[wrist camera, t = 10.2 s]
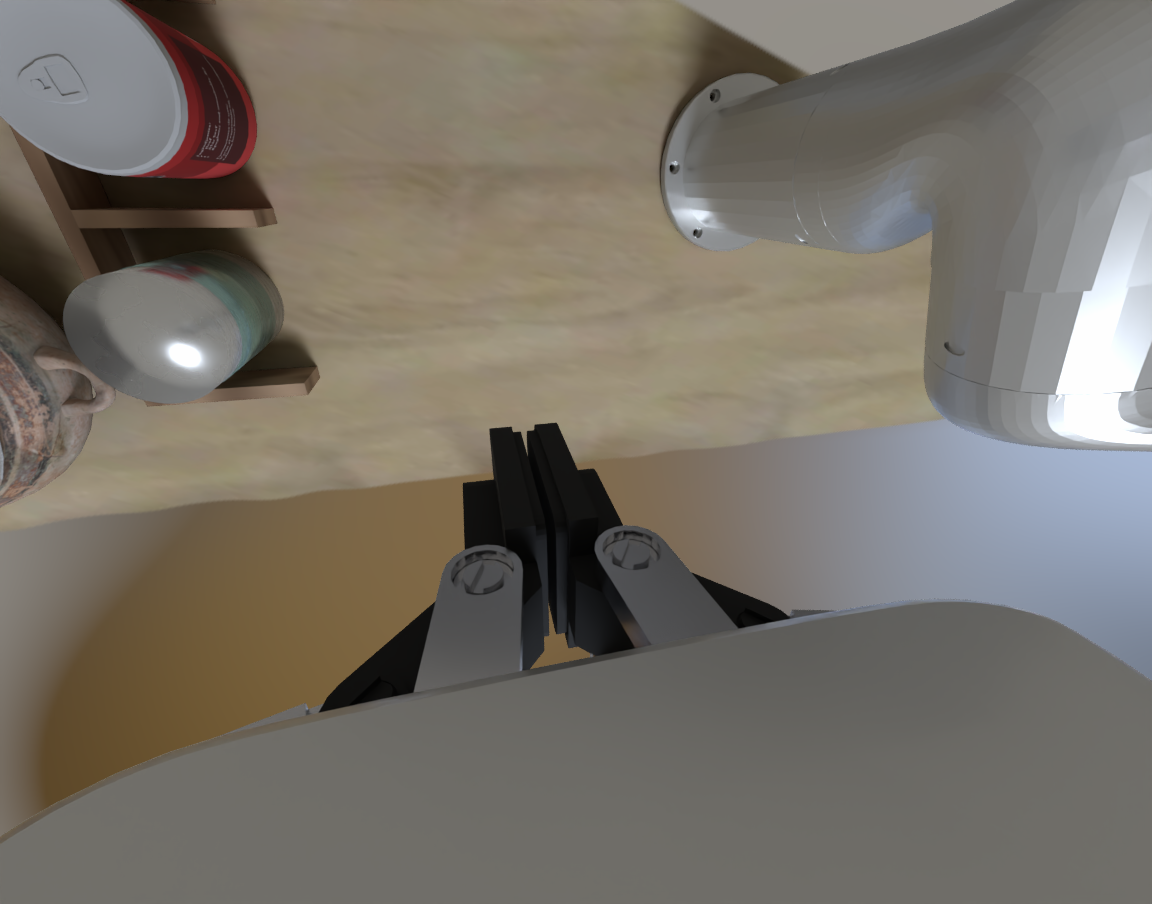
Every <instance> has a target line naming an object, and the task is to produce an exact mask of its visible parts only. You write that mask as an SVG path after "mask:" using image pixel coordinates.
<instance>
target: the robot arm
mask: <svg viewBox="0 0 1152 904" xmlns="http://www.w3.org/2000/svg"><path fill="white" fill-rule="evenodd" d="M710 94H711V95H712V100H710ZM670 165H672V166H673V169H672V171H671V172H670V169H669V167H670ZM661 190H662V195H663V201H664V205H665V208H666V210H667V213H668V216H669V218H670V220H671V221H672V223H673V224H674V226H675V228H676V229H677V230H678V231H679V232H680V234H681V235H682V236H683V237H684V238H685V239H687V240H688V241H690V242H691V243H693V244H694V245H696V246H699V247H702V248H705V249H708V250H714V251H731V250H735V249H739V248H743V247H745V246H747V245H749V244H751V243H753V242H755V241H756V240H758V239H759V238H761V239H767V240H773V241H779V242H785V243H791V244H797V245H803V246H809V247H815V248H821V249H827V250H834V251H840V252H846V253H854V254H870V253H878V252H883V251H887V250H890V249H894V248H897V247H900V246H902V245H905V244H907V243H909V242H911V241H913V240H915V239H917V238H919V237H921V236H923V235H925V234H926V233H928V232H930V231H932V251H931V267H932V270H931V281H930V293H929V304H928V315H927V326H926V337H925V353H924V382H925V388H926V392H927V395H928V397H929V399H930V401H931V403H932V405H933V406H934V408H935V409H936V410H937V411H938V412H939V413H940V414H941V415H942V416H943V417H944V418H945V419H947V420H948V421H950V422H951V423H953V424H955V425H956V426H958V427H960V428H962V429H964V430H966V431H969V432H972V433H974V434H977V435H980V436H983V437H987V438H991V439H995V440H999V441H1003V442H1009V443H1015V444H1021V445H1028V446H1038V447H1048V448H1058V449H1076V450H1077V449H1078V450H1105V451H1108V450H1109V451H1147V452H1152V0H1016V1H1013V2H1011V3H1009V4H1007V5H1005V6H1003V7H1000V8H998V9H996V10H994V11H991V12H989V13H987V14H985V15H983V16H980V17H978V18H976V19H974V20H972V21H969V22H967V23H964V24H962V25H959V26H956V27H954V28H951V29H949V30H946V31H943V32H940V33H938V34H935V35H932V36H929V37H927V38H924V39H921V40H918V41H916V42H913V43H910V44H907V45H904V46H901V47H898V48H894V49H891V50H888V51H885V52H882V53H879V54H876V55H873V56H870V57H867V58H864V59H861V60H857V61H854V62H851V63H848V64H845V65H841V66H838V67H836V68H832V69H829V70H825V71H823V72H819V73H816V74H813V75H810V76H806V77H803V78H800V79H797V80H794V81H791V82H787V83H784V84H781V85H779V84H778V83H777V82H776V81H774V80H772V79H770V78H768V77H766V76H764V75H759V74H754V73H739V74H734V75H731V76H727V77H724V78H722V79H719V80H717V81H715V82H713V83H711V84H709V85H708V86H707V87H705V88H704V89H703V90H701V91H700V92H698V93H697V94H696V95H695V96H694V97H693V98H692V99H691V101H690V102H689V103H688V104H687V105H686V106H685V107H684V109H683V110H682V112H681V113H680V115H679V116H678V118H677V119H676V121H675V123H674V125H673V127H672V130H671V132H670V134H669V136H668V139H667V142H666V146H665V150H664V153H663V159H662V167H661ZM694 229H695V231H696V232H695V234H694V235H693V231H694ZM490 442H491V453H492V464H493V475H494V480H485V481H476V482H467V483H463V505H464V537H465V550H463V551H462V552H460V553H459V554H457V555H455V556H454V557H453V558H452V559H451V560H450V561H449V562H448V563H447V564H446V566H445V569H444V571H443V573H442V577H441V581H440V585H439V589H438V594H437V598H436V601H435V602H434V603H433V604H432V605H431V606H430V607H429V608H427V609H426V610H425V611H424V612H423V613H421V614H420V615H419V616H418V617H417V618H416V619H415V620H413V621H412V622H411V623H410V624H409V625H408V626H406V627H405V628H404V629H403V630H402V631H401V632H399V633H398V634H397V635H396V636H395V637H394V638H393V639H391V640H390V641H389V642H388V643H387V644H386V645H384V646H383V647H382V648H381V649H380V650H379V651H377V652H376V653H375V654H374V655H373V656H372V657H371V658H369V659H368V660H367V661H366V662H365V663H364V664H362V665H361V666H360V667H359V668H358V669H357V670H355V671H354V672H353V673H352V674H351V675H350V676H349V677H347V678H346V679H345V680H344V681H343V682H342V683H340V684H339V685H338V686H337V687H336V689H335V690H334V691H333V692H332V693H331V694H330V695H329V696H328V697H327V699H326V701H325V703H324V704H321V705H319V706H316V707H314V708H311V709H308V707H307V705H306V703H304V704H302V705H299V706H296V707H294V708H291V709H289V710H286V711H283V712H281V713H278V714H276V715H273V716H270V717H268V718H265V719H263V720H260V721H258V722H255V723H252V724H250V725H247V726H245V727H242V728H239V729H236V730H234V731H231V732H229V733H226V734H223V735H221V736H218V737H216V738H213V739H210V740H207V741H203V742H200V743H197V744H194V745H191V746H187V747H184V748H181V749H178V750H175V751H172V752H169V753H166V754H164V755H161V756H159V757H156V758H154V759H151V760H149V761H146V762H144V763H141V764H139V765H136V766H134V767H131V768H129V769H126V770H124V771H121V772H119V773H116V774H114V775H112V776H110V777H108V778H106V779H104V780H102V781H100V782H98V783H96V784H94V785H92V786H90V787H88V788H86V789H84V790H82V791H79V792H77V793H75V794H73V795H71V796H69V797H67V798H65V799H63V800H61V801H59V802H57V803H55V804H53V805H52V806H50V807H48V808H46V809H45V810H43V811H41V812H39V813H38V814H36V815H34V816H33V817H31V818H29V819H27V820H25V821H24V822H22V823H20V824H19V825H17V826H16V827H14V828H13V829H11V830H10V831H8V832H7V833H5V834H3V835H2V836H0V904H1152V681H1151V680H1150V679H1149V678H1147V677H1145V676H1144V675H1143V674H1141V673H1140V672H1138V671H1137V670H1135V669H1134V668H1132V667H1131V666H1129V665H1127V664H1126V663H1125V662H1123V661H1122V660H1120V659H1119V658H1117V657H1116V656H1114V655H1113V654H1111V653H1110V652H1108V651H1106V650H1105V649H1103V648H1101V647H1100V646H1098V645H1096V644H1095V643H1093V642H1092V641H1090V640H1088V639H1087V638H1085V637H1084V636H1082V635H1080V634H1079V633H1077V632H1076V631H1074V630H1072V629H1070V628H1068V627H1066V626H1064V625H1063V624H1061V623H1059V622H1057V621H1055V620H1052V619H1050V618H1048V617H1044V616H1042V615H1040V614H1037V613H1033V612H1030V611H1026V610H1022V609H1019V608H1014V607H1010V606H1005V605H999V604H992V603H985V602H977V601H971V600H955V599H926V600H909V601H899V602H891V603H884V604H877V605H869V606H862V607H856V608H850V609H844V610H838V611H829V610H792V611H791V614H790V616H787V615H786V614H785V613H784V612H782V611H781V610H779V609H777V608H775V607H774V606H772V605H770V604H768V603H765V602H763V601H760V600H758V599H755V598H753V597H750V596H748V595H746V594H743V593H740V592H738V591H736V590H733V589H731V588H728V587H726V586H723V585H721V584H718V583H716V582H713V581H711V580H708V579H706V578H704V577H701V576H699V575H696V574H694V573H691V572H690V571H689V569H688V568H687V567H686V566H685V565H684V563H683V562H682V561H681V560H680V559H679V558H678V556H677V555H676V554H675V553H674V552H673V551H672V549H671V548H670V547H669V546H668V544H667V543H666V542H665V541H664V540H663V539H662V538H661V537H660V536H659V535H657V534H656V533H654V532H652V531H650V530H648V529H645V528H642V527H638V526H627V525H625V526H623V524H622V522H621V520H620V518H619V516H618V514H617V512H616V510H615V508H614V506H613V504H612V502H611V500H610V498H609V496H608V494H607V492H606V491H605V488H604V487H603V484H602V482H601V481H600V478H599V476H598V474H597V472H596V471H595V470H594V469H584V470H577V468H576V465H575V463H574V461H573V458H572V456H571V454H570V451H569V449H568V447H567V445H566V442H565V440H564V438H563V436H562V433H561V431H560V429H559V426H558V424H557V423H548V424H537V425H535V427H534V430H533V431H527V451H528V456H527V453H526V449H525V445H524V442H523V438H522V435H521V432H513V431H512V427H503V428H492V429H490ZM548 602H549V606H550V611H551V615H552V619H553V624H554V628H555V632H556V634H561V633H565V636H566V640H567V644H568V648H573V647H580V648H582V649H584V650H586V651H587V652H589V653H590V658H585V659H579V660H574V661H569V662H564V663H559V664H554V665H549V666H544V667H539V668H534V669H530V668H531V667H532V665H533V664H534V663H535V662H536V660H537V659H538V658H539V657H540V655H541V654H542V653H543V652H544V636H549V610H548Z"/></svg>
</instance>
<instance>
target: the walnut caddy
mask: <svg viewBox="0 0 1152 904" xmlns="http://www.w3.org/2000/svg"><path fill="white" fill-rule="evenodd" d="M167 1H179V2H191V3H204V4H216V2H215V0H167ZM9 125H10V124H9ZM10 127H11V130H12V132H13V134H14V136H15V138H16V140H17V142H18V144H19V146H20V148H21V150H22V152H23V154H24V156H25V158H26V160H27V162H28V164H29V166H30V168H31V170H32V172H33V174H34V176H35V179H36V181H37V183H38V185H39V187H40V189H41V191H42V193H43V195H44V197H45V199H46V201H47V203H48V205H49V207H50V209H51V211H52V213H53V215H54V217H55V219H56V221H57V223H58V225H59V228H60V230H61V232H62V234H63V236H64V238H65V240H66V242H67V244H68V246H69V248H70V250H71V252H72V254H73V256H74V258H75V260H76V262H77V264H78V266H79V268H80V270H81V272H82V274H83V276H84V279H85V281H86V280H88V279H90V278H93V277H95V276H98V275H102V274H106V273H110V272H114V271H117V270H120V269H122V268H126V267H130V266H134V265H136V263H135V261H134V259H133V256H132V254H131V252H130V249H129V247H128V245H127V242H126V240H125V238H124V235H123V233H122V231H121V228H244V227H262V226H267V225H272V224H277V221H276V217H275V214H274V210H273V208H111V205H110V203H109V201H108V198H107V196H106V194H105V191H104V189H103V187H102V184H101V182H100V180H99V177H98V175H97V173H96V172H93V171H90V170H86V169H82V168H78V167H76V166H73V165H71V164H68V163H66V162H63V161H61V160H59V159H57V158H55V157H53V156H52V155H50V154H48V153H46V152H45V151H43V150H41V149H39V148H38V147H36V146H35V145H34V144H32V143H31V142H30V141H28V140H27V139H26V138H24V137H23V136H22V135H20V134H19V133H18V132H17V131H16V130H15V129H14V128H13V127H12V126H11V125H10ZM319 378H320V375H319V372H318V368H317V367H300V368H283V369H267V370H250V371H237V372H235V373H234V374H233V375H232V376H231V377H229V378H228V379H227V380H226V381H224V382H222V383H221V384H220V385H219V386H217V387H216V388H215V389H214V390H213V391H211V392H210V393H209V394H207V395H205V396H204V397H202V398H199V399H196V400H194V401H190V402H185V403H177V404H190V403H204V402H218V401H232V400H246V399H260V398H274V397H288V396H302V395H308V394H309V393H310V391H311V390H312V388H313V387H314V386H315V384H316V383H317V381H318V380H319ZM144 401H145V400H144ZM145 403H146V405H147V406H162V405H176V404H165V403H156V402H150V401H145Z"/></svg>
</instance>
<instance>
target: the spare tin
mask: <svg viewBox="0 0 1152 904" xmlns="http://www.w3.org/2000/svg"><path fill="white" fill-rule="evenodd" d="M283 321H284V306H283V302H282V299H281V296H280V294H279V292H278V290H277V288H276V286H275V285H274V283H273V282H272V280H271V279H270V278H269V277H268V276H267V275H266V274H265V273H264V272H263V271H262V270H261V269H260V268H259V267H257V266H256V265H255V264H253V263H252V262H250V261H249V260H247V259H245V258H243V257H241V256H239V255H236V254H234V253H230V252H227V251H222V250H212V249H208V250H200V251H195V252H191V253H184V254H180V255H175V256H171V257H167V258H163V259H159V260H155V261H151V262H147V263H143V264H139V265H134V266H130V267H126V268H122V269H120V270H117V271H114V272H110V273H106V274H102V275H98V276H95V277H93V278H90V279H88V280H86V281H84V282H83V283H81V284H80V285H78V286H77V287H76V288H75V289H74V290H73V291H72V293H71V294H70V295H69V297H68V299H67V301H66V303H65V307H64V311H63V325H64V330H65V334H66V337H67V339H68V342H69V344H70V346H71V348H72V349H73V351H74V352H75V354H76V356H77V357H78V358H79V359H80V361H81V362H82V363H83V364H84V365H85V366H86V367H87V368H88V369H89V370H90V371H91V372H92V373H93V374H94V375H96V376H97V377H98V378H99V379H101V380H102V381H103V382H105V383H106V384H108V385H110V386H111V387H113V388H115V389H117V390H118V391H121V392H123V393H125V394H127V395H130V396H132V397H135V398H138V399H142V400H145V401H150V402H156V403H165V404H177V403H185V402H190V401H194V400H196V399H199V398H202V397H204V396H205V395H207V394H209V393H210V392H211V391H213V390H214V389H215V388H216V387H217V386H219V385H220V384H221V383H222V382H224V381H226V380H227V379H228V378H229V377H231V376H232V375H233V374H234V373H235V372H237V371H238V370H239V369H240V368H241V367H242V366H244V365H245V364H246V363H247V362H248V361H250V360H251V359H252V358H253V357H254V356H255V355H257V354H258V353H259V352H260V351H261V350H263V349H264V348H265V347H266V346H267V344H268V343H270V342H271V341H272V340H273V339H274V338H275V337H276V336H277V335H278V333H279V332H280V330H281V327H282V325H283Z"/></svg>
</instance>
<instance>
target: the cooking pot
mask: <svg viewBox="0 0 1152 904" xmlns="http://www.w3.org/2000/svg"><path fill="white" fill-rule="evenodd" d="M90 381H91V382H90ZM91 383H92V385H93V387H94V389H95V392H96V397H95V398H93V394H92V386H91ZM115 396H116V393H115V388H113V387H111V386H110V385H108V384H106V383H105V382H103V381H102V380H101V379H99V378H98V377H97V376H96V375H94V374H93V373H92V372H91V371H90V370H89V369H88V368H87V367H86V366H85V365H84V364H83V363H82V362H81V361H80V359H79V358H78V357H77V356H76V354H75V352H74V351H73V349H72V348H71V346H70V344H69V342H68V339H67V337H66V334H65V333H64V332H63V331H62V329H61V328H60V327H59V326H58V324H57V323H56V322H55V321H54V320H53V319H52V318H51V317H50V316H49V315H48V314H47V313H46V312H45V311H44V310H43V309H42V308H41V307H40V306H39V305H38V304H37V303H36V302H35V301H34V300H33V299H31V298H30V297H29V296H27V295H26V294H25V293H23V292H22V291H21V290H20V289H18V288H17V287H16V286H14V285H13V284H12V283H10V282H9V281H8V280H6V279H5V278H3V277H2V276H0V507H2V506H5V505H8V504H10V503H13V502H15V501H17V500H19V499H21V498H24V497H26V496H28V495H30V494H32V493H34V492H37V491H38V490H40V489H42V488H43V487H45V486H46V485H47V484H49V483H50V482H51V481H53V480H54V479H55V478H57V477H58V476H59V475H61V474H62V473H63V472H64V471H66V470H67V468H68V467H69V466H70V465H71V464H72V462H73V461H74V460H75V459H76V457H77V456H78V455H79V454H80V452H81V451H82V448H83V446H84V444H85V442H86V439H87V437H88V435H89V432H90V429H91V425H92V417H93V413H96V412H100V411H102V410H104V409H106V408H108V407H109V406H110V405H111V404H112V403H113V402H114V400H115Z"/></svg>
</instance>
